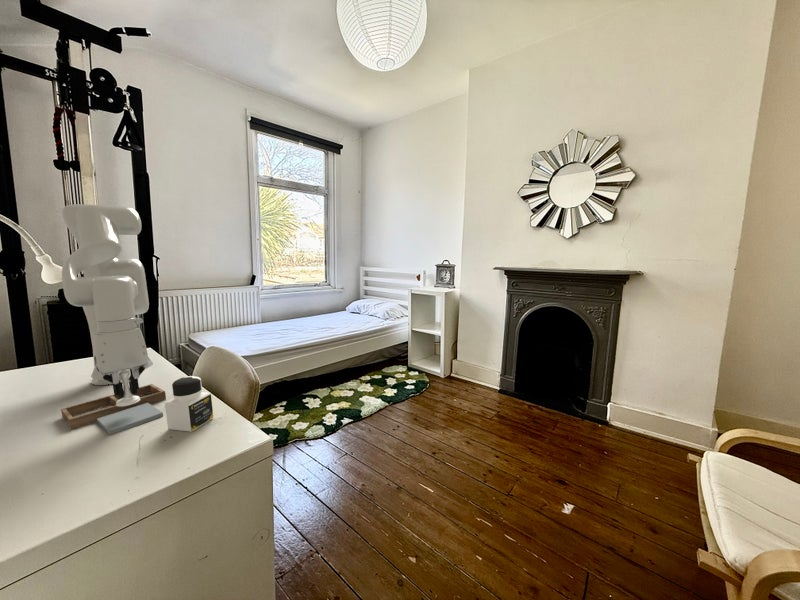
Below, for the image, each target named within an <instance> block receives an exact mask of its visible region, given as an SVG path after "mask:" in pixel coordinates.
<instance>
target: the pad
mask: <svg viewBox="0 0 800 600" xmlns="http://www.w3.org/2000/svg"><path fill="white" fill-rule="evenodd" d="M162 417H164V412H163V411H161V410H160V409H158V408H157V407H155V406H153V404H149V403H145V404H142V405H138V406H135V407H132V408H129V409H126V410H122V411H119V412H116V413H113V414H110V415H106V416H103V417H100V418H97V421H96V422H97V424H98V425H99V426H100V427H101V428H102V429H104V431H105V432H106V433H107V434H108V435H109V436H111V435H113V434H116V433H119V432H122V431H125V430H128V429H130V428H133V427H137V426H139V425H142V424H144V423H147V422H151V421H153V420H156V419H160V418H162Z"/></svg>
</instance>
